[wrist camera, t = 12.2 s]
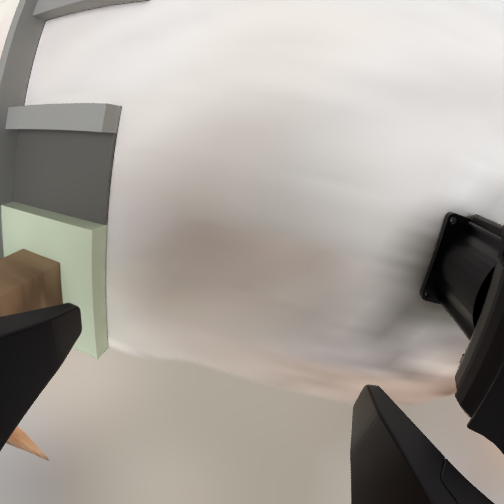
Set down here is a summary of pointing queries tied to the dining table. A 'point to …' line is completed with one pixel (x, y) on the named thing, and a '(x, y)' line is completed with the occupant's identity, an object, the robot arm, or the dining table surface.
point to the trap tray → (56, 172)
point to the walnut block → (28, 282)
